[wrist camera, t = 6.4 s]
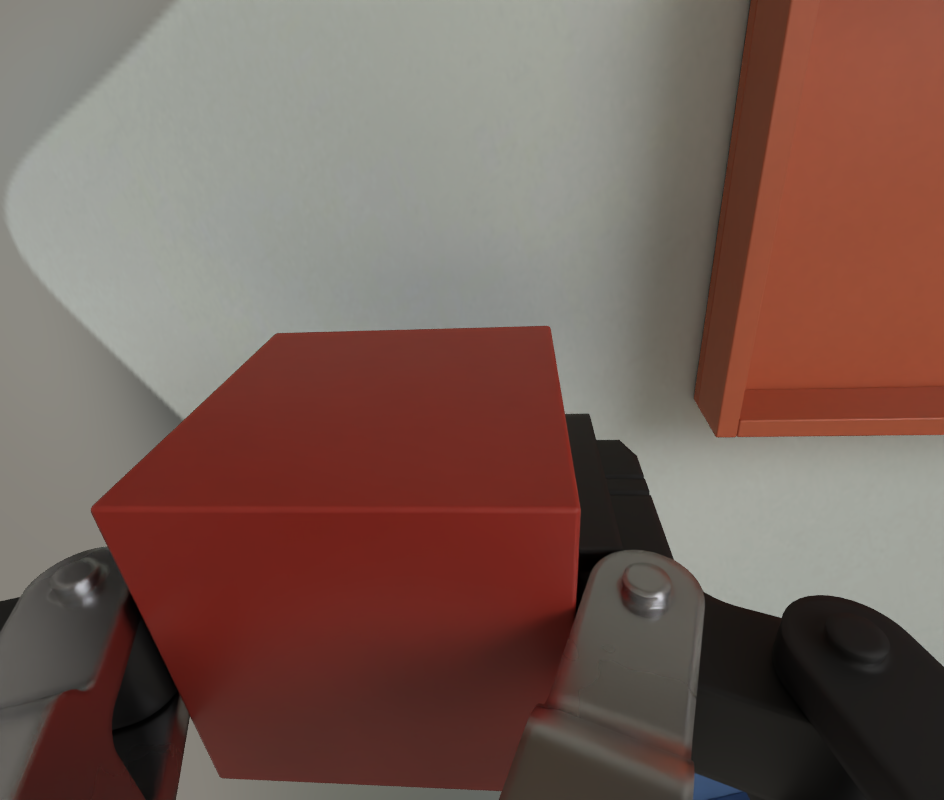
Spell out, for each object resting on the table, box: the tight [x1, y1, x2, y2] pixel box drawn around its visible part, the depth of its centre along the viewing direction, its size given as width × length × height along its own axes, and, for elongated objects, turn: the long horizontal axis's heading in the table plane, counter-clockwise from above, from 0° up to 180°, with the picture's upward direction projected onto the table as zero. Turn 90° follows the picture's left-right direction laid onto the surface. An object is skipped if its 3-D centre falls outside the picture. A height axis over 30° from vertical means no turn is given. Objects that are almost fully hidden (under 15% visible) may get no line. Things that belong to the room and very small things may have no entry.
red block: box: [91, 326, 581, 791], centre depth 9 cm, size 5×5×5 cm
